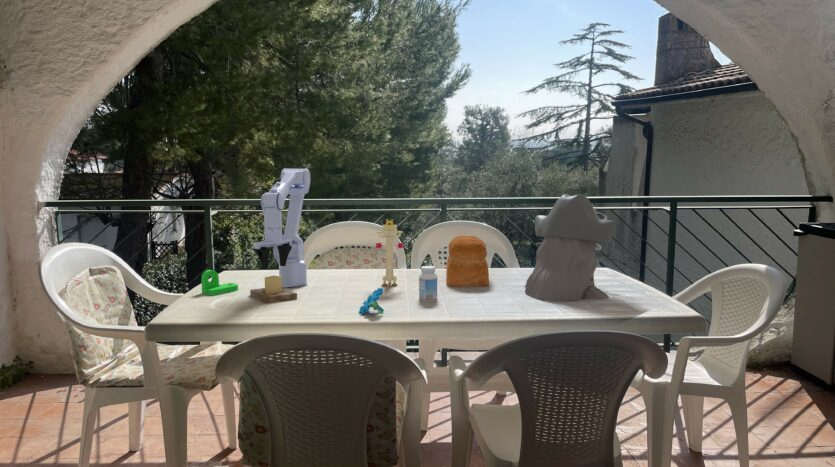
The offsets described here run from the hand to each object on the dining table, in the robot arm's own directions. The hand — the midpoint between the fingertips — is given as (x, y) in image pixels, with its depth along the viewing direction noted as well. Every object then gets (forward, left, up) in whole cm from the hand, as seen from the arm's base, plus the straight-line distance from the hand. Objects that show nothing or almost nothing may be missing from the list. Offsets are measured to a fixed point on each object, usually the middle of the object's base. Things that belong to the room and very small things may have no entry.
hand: (274, 267), depth 204 cm
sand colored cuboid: (+2, +4, -10) cm, 11 cm away
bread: (-70, +19, -10) cm, 73 cm away
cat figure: (-41, +9, -10) cm, 43 cm away
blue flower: (-13, +40, -11) cm, 43 cm away
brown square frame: (+2, +4, -9) cm, 10 cm away
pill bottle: (-39, +36, -10) cm, 54 cm away
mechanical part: (+13, -15, -10) cm, 22 cm away
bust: (-84, +55, -10) cm, 101 cm away
